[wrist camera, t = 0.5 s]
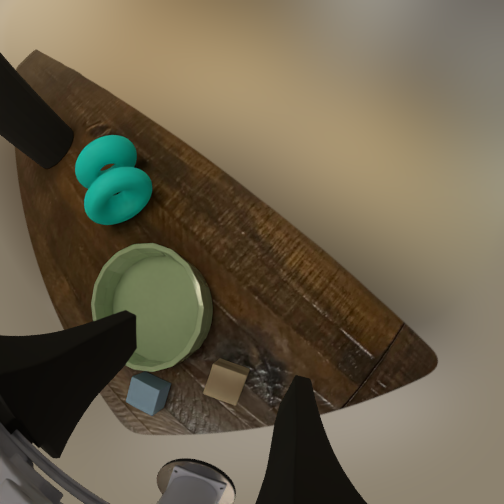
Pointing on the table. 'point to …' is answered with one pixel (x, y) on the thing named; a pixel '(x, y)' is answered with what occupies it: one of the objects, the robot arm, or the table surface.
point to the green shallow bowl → (156, 303)
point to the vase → (30, 120)
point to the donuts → (112, 180)
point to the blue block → (148, 393)
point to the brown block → (226, 381)
